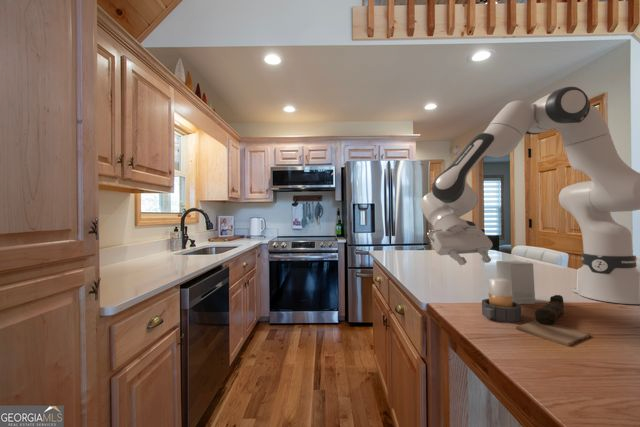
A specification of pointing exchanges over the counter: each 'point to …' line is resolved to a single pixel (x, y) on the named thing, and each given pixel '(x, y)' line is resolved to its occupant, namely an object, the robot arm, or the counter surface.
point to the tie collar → (501, 312)
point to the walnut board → (553, 332)
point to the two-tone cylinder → (500, 292)
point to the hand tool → (550, 310)
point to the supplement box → (518, 280)
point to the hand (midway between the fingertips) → (476, 262)
